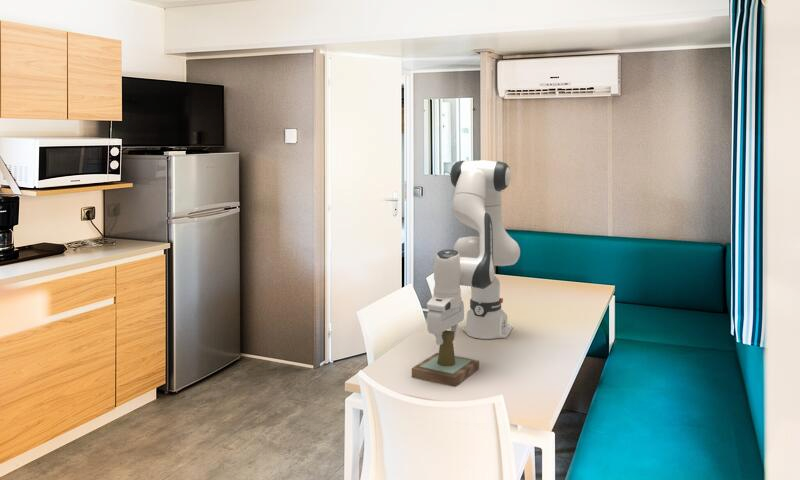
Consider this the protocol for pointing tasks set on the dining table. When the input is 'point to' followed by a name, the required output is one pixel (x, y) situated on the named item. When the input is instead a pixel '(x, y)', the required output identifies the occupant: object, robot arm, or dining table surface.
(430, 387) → the dining table surface
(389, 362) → the dining table surface
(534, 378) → the dining table surface
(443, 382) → the wooden tray
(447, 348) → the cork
